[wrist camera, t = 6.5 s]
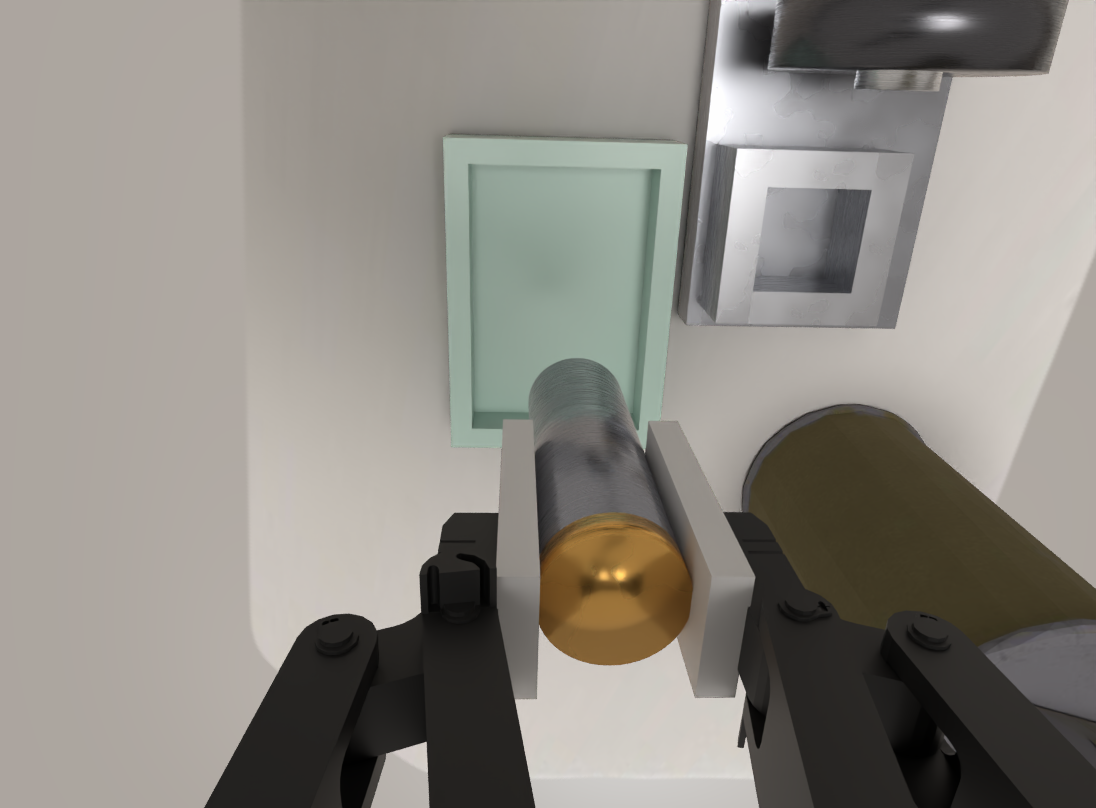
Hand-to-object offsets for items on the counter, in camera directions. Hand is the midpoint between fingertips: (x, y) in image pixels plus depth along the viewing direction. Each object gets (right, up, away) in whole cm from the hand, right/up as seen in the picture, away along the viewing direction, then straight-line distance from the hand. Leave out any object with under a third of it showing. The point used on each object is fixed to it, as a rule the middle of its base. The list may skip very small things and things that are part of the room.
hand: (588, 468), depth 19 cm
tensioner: (+11, +13, +14) cm, 22 cm away
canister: (+15, -3, +21) cm, 26 cm away
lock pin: (0, +2, +4) cm, 5 cm away
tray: (-1, +7, +16) cm, 18 cm away
